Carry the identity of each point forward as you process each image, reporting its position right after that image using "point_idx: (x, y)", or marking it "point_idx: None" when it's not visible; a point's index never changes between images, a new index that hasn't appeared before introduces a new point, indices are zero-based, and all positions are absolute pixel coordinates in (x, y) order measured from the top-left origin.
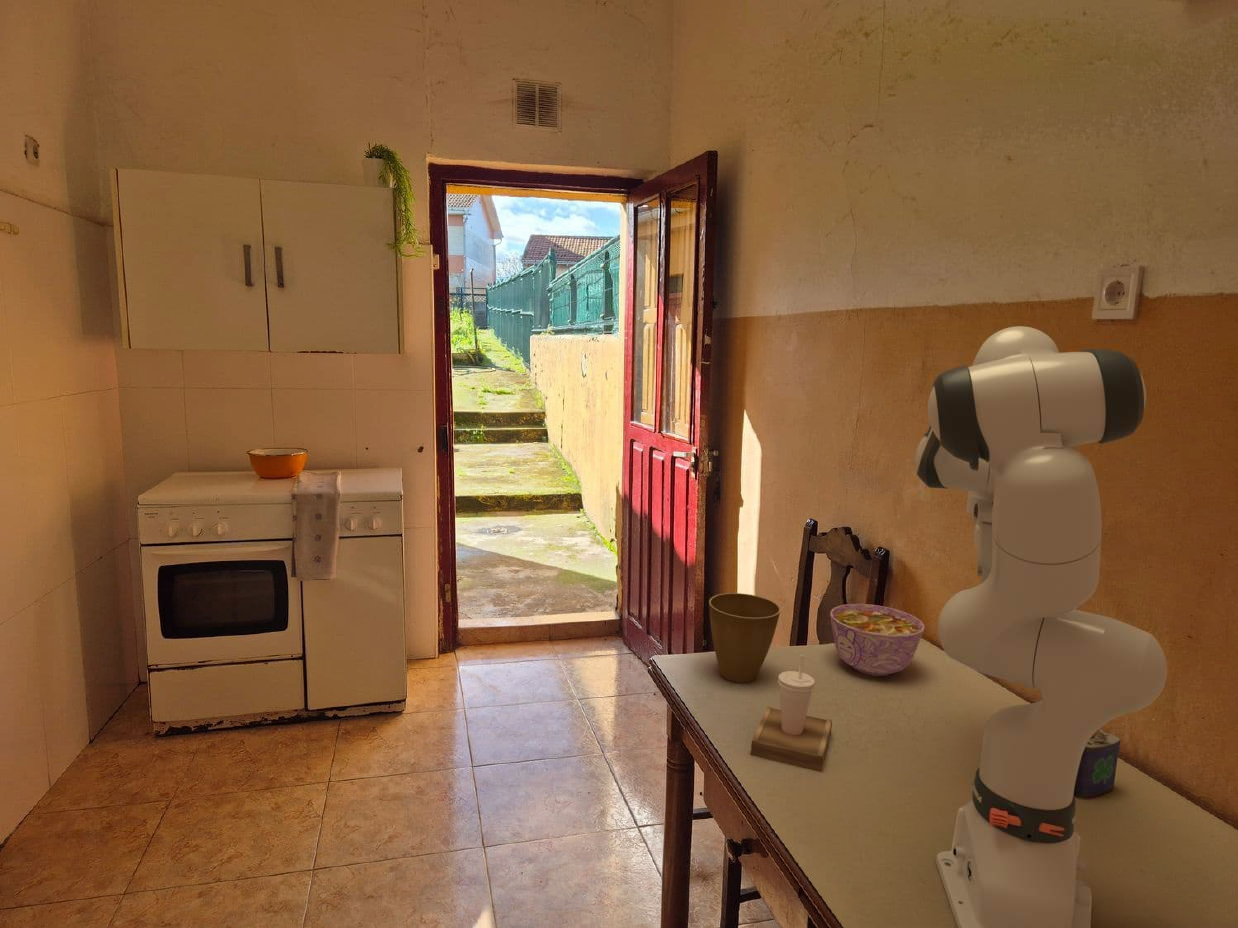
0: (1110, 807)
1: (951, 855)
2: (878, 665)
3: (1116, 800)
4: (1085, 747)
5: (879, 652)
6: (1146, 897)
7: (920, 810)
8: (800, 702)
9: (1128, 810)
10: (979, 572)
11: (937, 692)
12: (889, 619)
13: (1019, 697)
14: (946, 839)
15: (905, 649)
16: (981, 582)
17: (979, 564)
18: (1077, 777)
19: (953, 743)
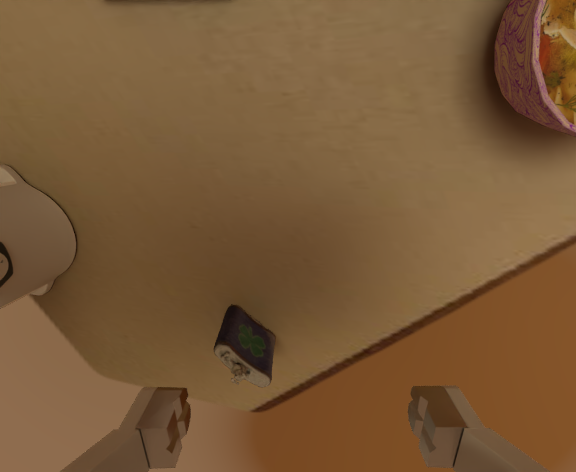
0: None
1: (6, 180)
2: (495, 54)
3: None
4: (214, 349)
5: (508, 45)
6: (86, 332)
7: (95, 147)
8: None
9: None
10: (419, 404)
11: (466, 171)
12: None
13: (483, 283)
14: (55, 176)
15: (528, 105)
16: (149, 409)
17: (469, 439)
18: (223, 320)
19: (293, 190)
